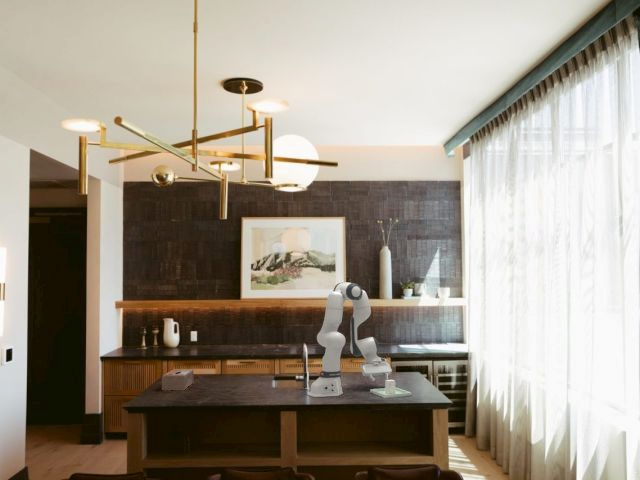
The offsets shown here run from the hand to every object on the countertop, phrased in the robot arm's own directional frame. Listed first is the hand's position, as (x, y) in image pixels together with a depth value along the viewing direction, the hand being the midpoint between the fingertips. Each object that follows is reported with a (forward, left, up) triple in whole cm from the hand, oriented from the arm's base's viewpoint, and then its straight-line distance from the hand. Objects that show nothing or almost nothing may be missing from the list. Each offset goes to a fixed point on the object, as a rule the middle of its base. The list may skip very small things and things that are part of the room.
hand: (380, 380), depth 379 cm
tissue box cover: (-116, +69, -7) cm, 135 cm away
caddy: (0, -12, -6) cm, 14 cm away
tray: (0, -12, -7) cm, 14 cm away
